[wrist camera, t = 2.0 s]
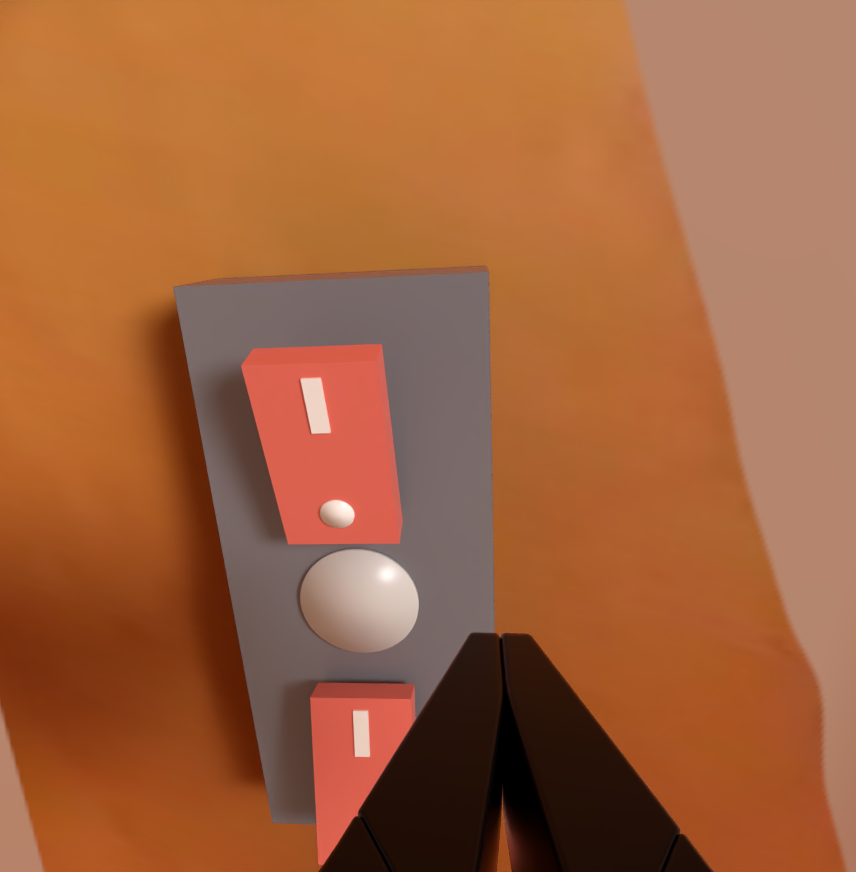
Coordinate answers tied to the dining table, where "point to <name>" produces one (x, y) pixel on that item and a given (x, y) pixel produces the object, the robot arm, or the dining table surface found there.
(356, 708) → the switch
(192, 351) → the switch panel
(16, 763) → the dining table surface
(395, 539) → the switch
